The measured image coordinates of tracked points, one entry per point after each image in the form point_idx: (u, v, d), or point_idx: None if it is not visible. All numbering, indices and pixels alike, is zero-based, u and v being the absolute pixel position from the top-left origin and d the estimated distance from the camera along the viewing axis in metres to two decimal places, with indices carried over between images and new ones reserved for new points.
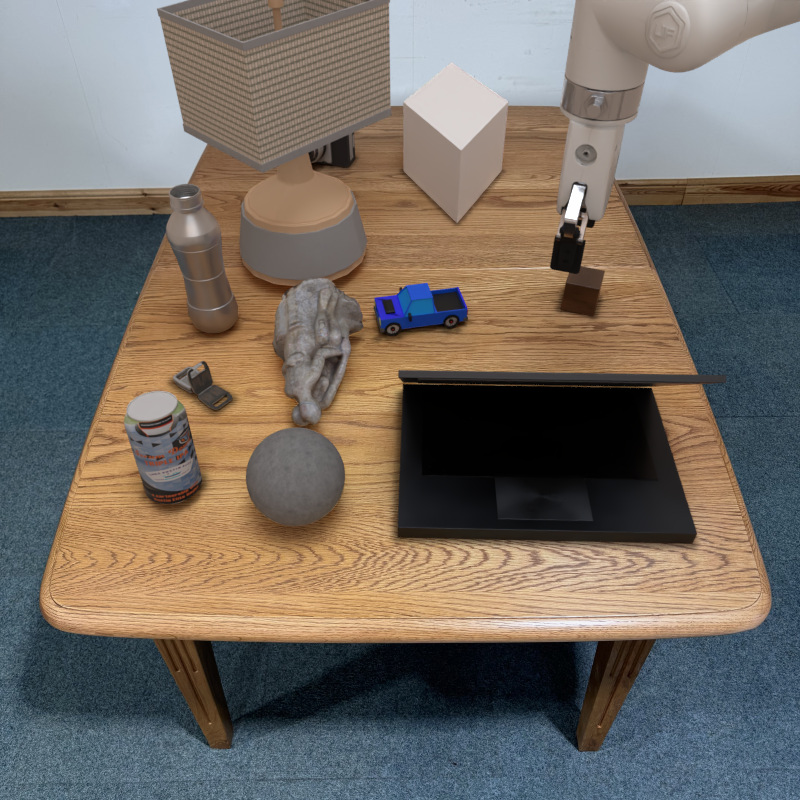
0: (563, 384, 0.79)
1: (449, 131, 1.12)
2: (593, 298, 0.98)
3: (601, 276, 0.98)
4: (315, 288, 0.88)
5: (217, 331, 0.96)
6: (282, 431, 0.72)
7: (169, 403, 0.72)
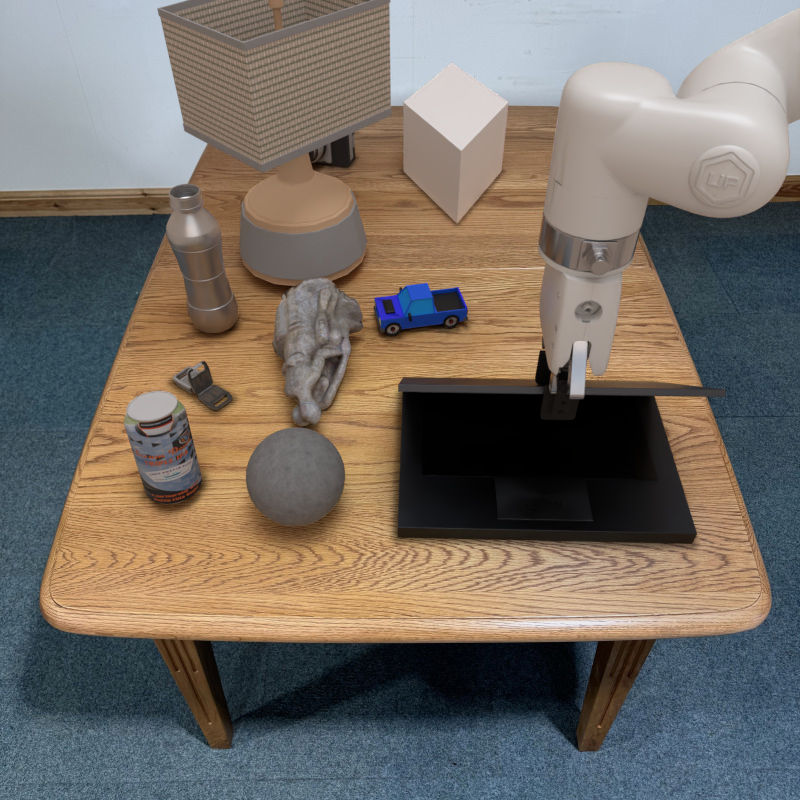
0: None
1: (449, 132, 1.12)
2: None
3: None
4: (315, 288, 0.88)
5: (217, 331, 0.96)
6: (282, 431, 0.72)
7: (169, 403, 0.72)
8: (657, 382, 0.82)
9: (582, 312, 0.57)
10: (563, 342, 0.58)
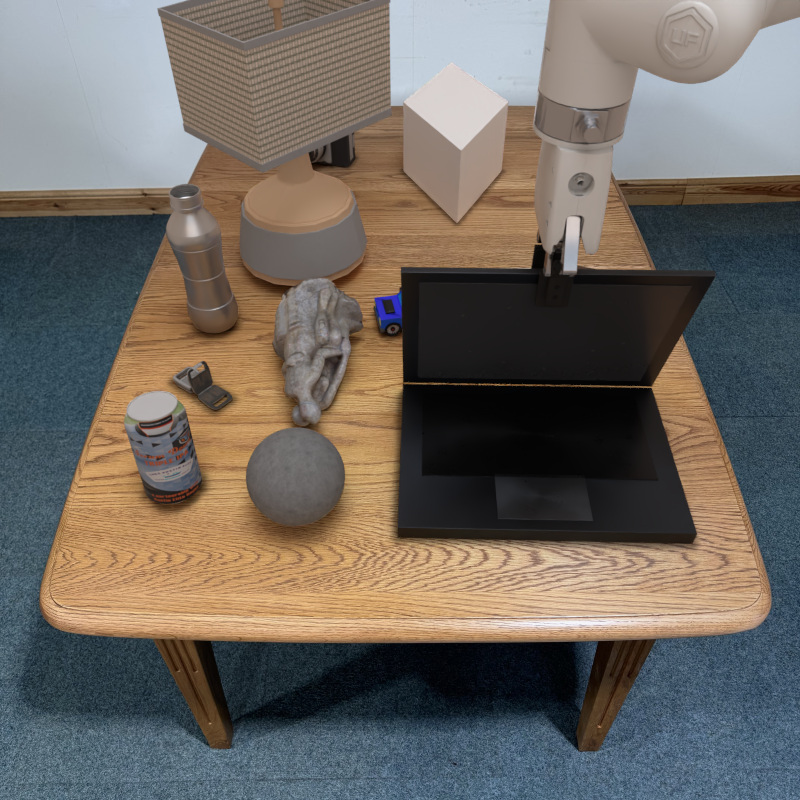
0: (562, 347, 0.80)
1: (449, 132, 1.12)
2: None
3: None
4: (315, 288, 0.88)
5: (217, 331, 0.96)
6: (282, 431, 0.72)
7: (169, 403, 0.72)
8: None
9: (575, 187, 0.60)
10: (557, 217, 0.61)
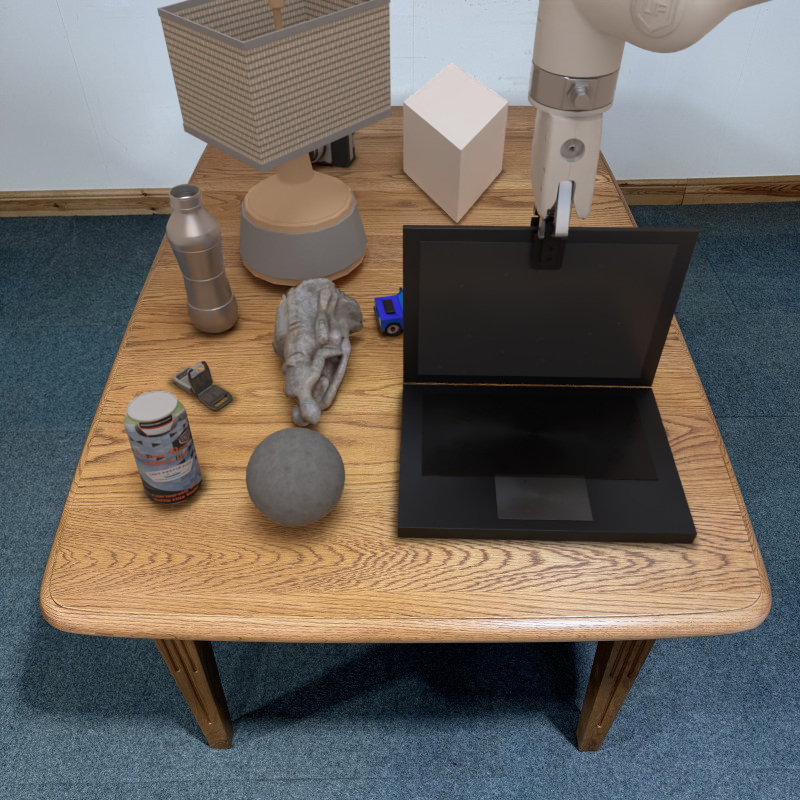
0: (559, 329, 0.82)
1: (449, 131, 1.12)
2: None
3: None
4: (315, 288, 0.88)
5: (217, 331, 0.96)
6: (282, 431, 0.72)
7: (169, 403, 0.72)
8: None
9: (567, 153, 0.64)
10: (550, 182, 0.65)
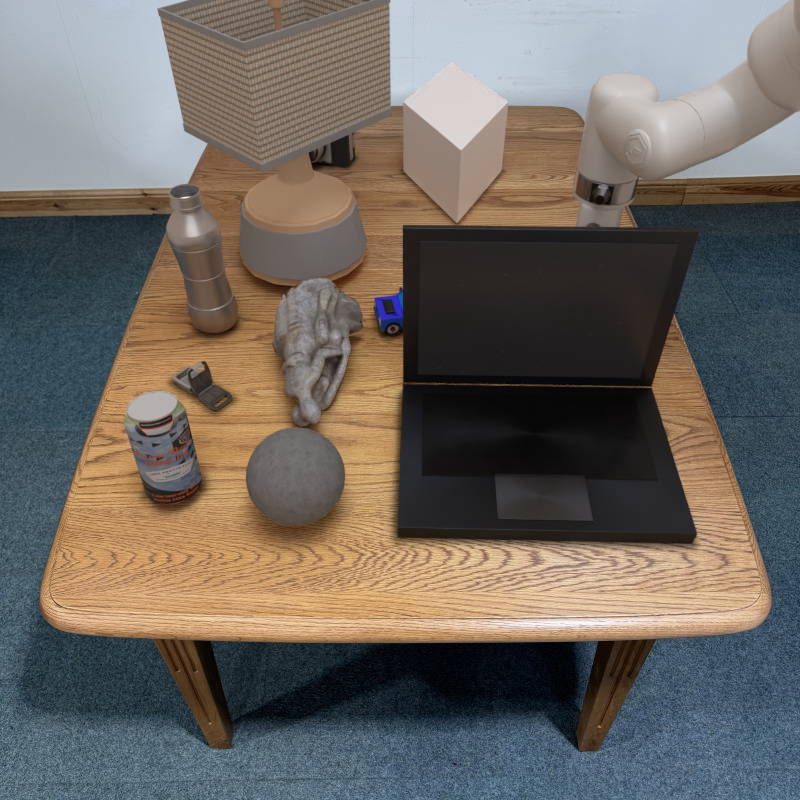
0: (559, 329, 0.82)
1: (449, 132, 1.12)
2: None
3: None
4: (315, 288, 0.88)
5: (217, 331, 0.96)
6: (282, 431, 0.72)
7: (169, 403, 0.72)
8: None
9: None
10: None
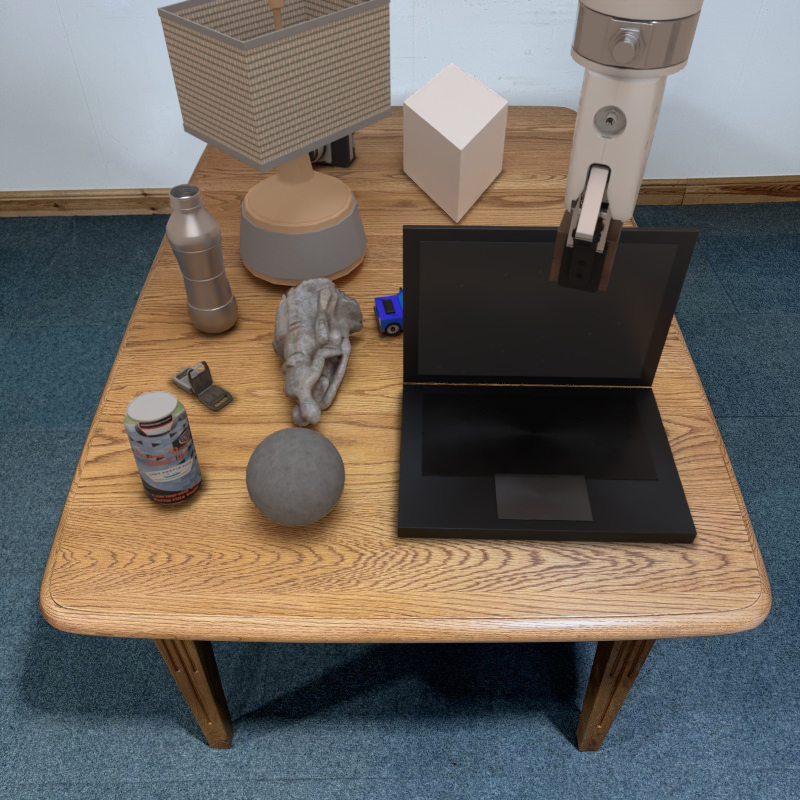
0: (559, 329, 0.82)
1: (449, 132, 1.12)
2: (606, 258, 0.56)
3: (620, 222, 0.56)
4: (315, 288, 0.88)
5: (217, 331, 0.96)
6: (282, 431, 0.72)
7: (169, 403, 0.72)
8: None
9: (606, 128, 0.47)
10: (578, 163, 0.49)
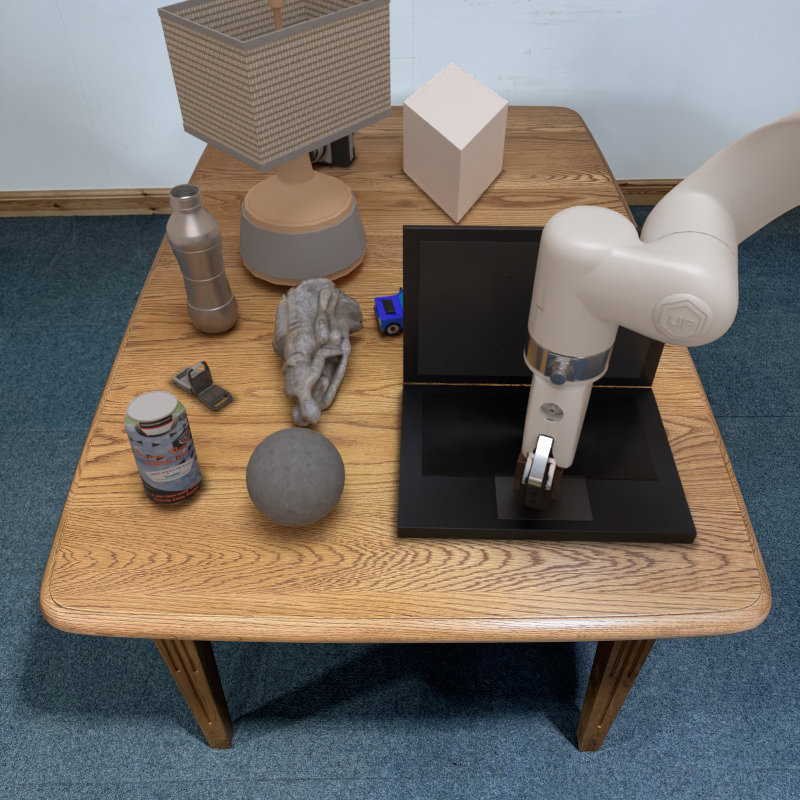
0: None
1: (449, 132, 1.12)
2: (554, 481, 0.73)
3: None
4: (315, 288, 0.88)
5: (217, 331, 0.96)
6: (282, 431, 0.72)
7: (169, 403, 0.72)
8: None
9: None
10: (530, 432, 0.66)
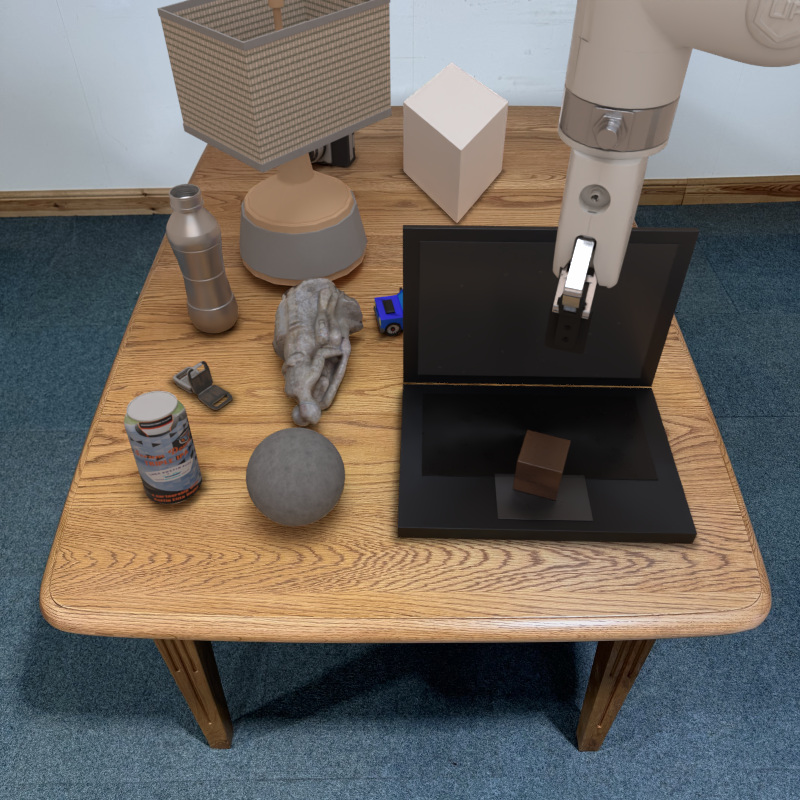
0: None
1: (449, 132, 1.12)
2: (554, 481, 0.73)
3: (566, 451, 0.74)
4: (315, 288, 0.88)
5: (217, 331, 0.96)
6: (282, 431, 0.72)
7: (169, 403, 0.72)
8: None
9: (592, 202, 0.50)
10: (565, 235, 0.51)
